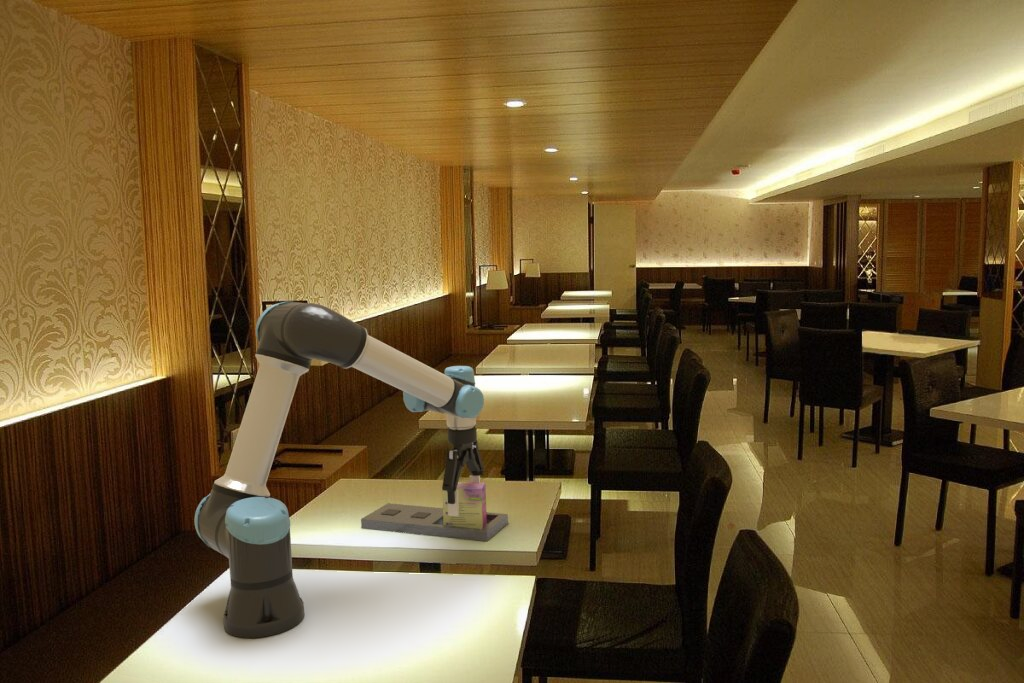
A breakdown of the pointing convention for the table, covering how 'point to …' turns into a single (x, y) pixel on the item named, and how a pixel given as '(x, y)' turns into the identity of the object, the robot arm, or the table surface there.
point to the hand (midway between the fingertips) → (464, 507)
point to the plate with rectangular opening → (429, 522)
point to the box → (468, 506)
